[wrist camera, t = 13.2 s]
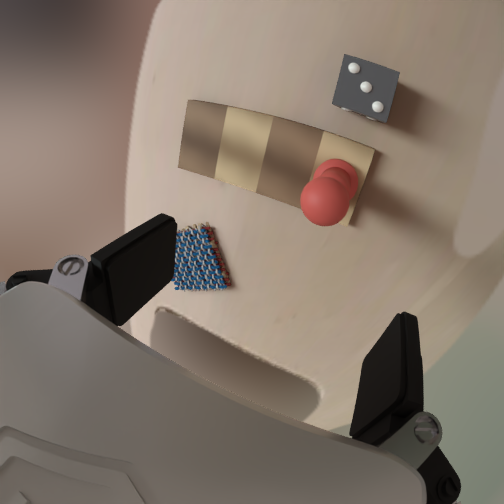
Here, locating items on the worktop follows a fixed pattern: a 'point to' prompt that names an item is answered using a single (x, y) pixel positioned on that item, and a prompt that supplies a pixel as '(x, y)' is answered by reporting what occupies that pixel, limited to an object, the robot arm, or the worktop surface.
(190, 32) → the worktop surface
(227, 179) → the board
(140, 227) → the robot arm
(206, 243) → the woven mat
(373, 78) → the die
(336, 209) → the pawn
